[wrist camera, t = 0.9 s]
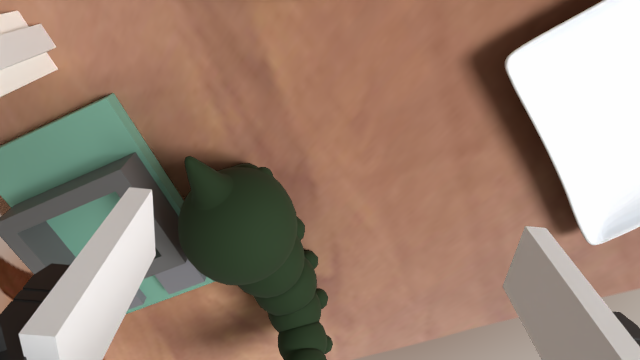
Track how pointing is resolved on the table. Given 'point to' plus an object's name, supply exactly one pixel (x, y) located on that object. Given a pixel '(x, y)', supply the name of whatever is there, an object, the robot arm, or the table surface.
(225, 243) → the toy figurine
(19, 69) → the plug
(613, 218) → the salad plate
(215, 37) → the table surface
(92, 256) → the robot arm
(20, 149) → the board
